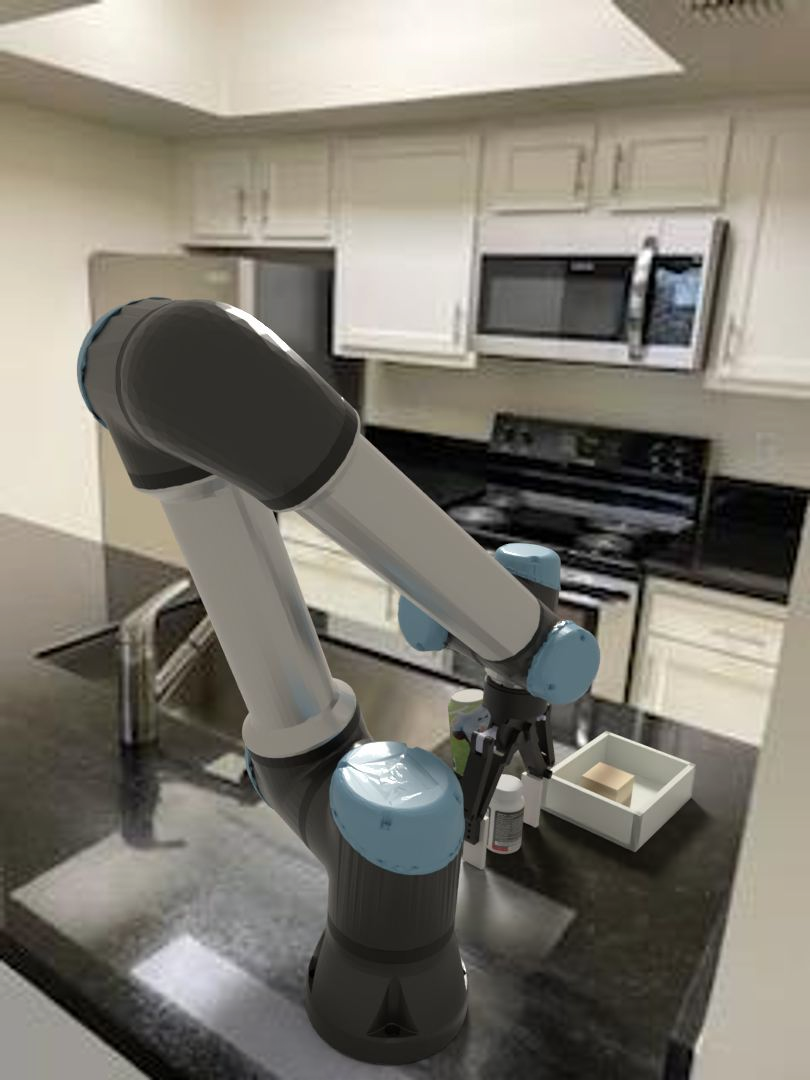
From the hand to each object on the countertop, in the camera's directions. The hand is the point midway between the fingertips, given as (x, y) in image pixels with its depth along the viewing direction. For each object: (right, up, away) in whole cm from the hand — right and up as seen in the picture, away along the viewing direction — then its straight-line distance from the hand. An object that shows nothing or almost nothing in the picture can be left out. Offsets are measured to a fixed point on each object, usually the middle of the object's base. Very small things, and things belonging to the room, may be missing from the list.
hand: (501, 841), depth 103 cm
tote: (+17, +2, +11) cm, 20 cm away
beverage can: (-3, +4, +16) cm, 17 cm away
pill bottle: (0, 0, 0) cm, 0 cm away
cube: (+14, +2, +8) cm, 16 cm away
